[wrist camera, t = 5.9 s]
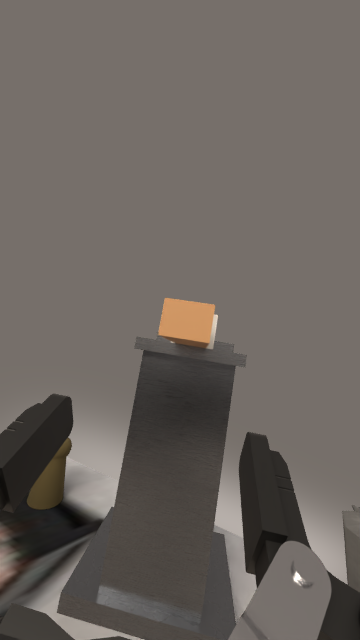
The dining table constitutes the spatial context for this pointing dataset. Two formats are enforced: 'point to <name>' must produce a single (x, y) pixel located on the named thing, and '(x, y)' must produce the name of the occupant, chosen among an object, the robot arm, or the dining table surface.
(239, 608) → the dining table surface
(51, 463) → the cork
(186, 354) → the dark gray pedestal stand
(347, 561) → the coffeepot
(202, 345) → the orange rectangular block
